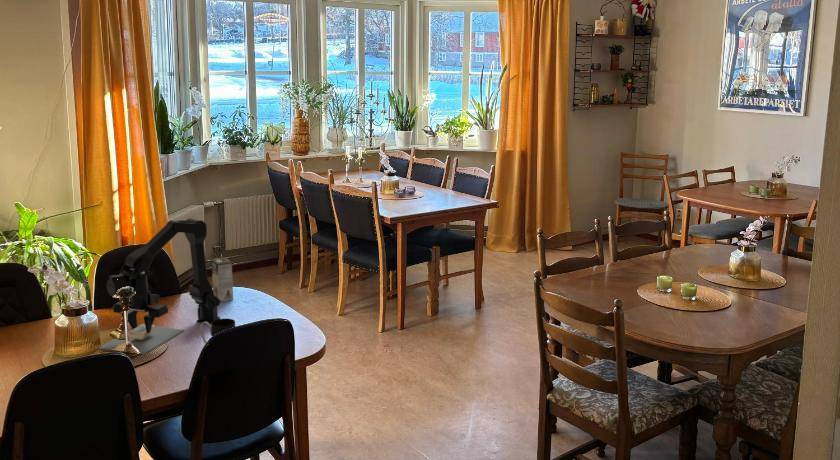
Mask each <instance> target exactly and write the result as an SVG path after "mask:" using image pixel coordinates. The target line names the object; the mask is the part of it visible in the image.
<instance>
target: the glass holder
mask: <svg viewBox="0 0 840 460" xmlns="http://www.w3.org/2000/svg"><path fill="white" fill-rule="evenodd" d="M204 324H206V325H207V326H208V329H209V334H210V336H211V337H212V336H214V335H215V334H217V333H219V332H221V331H223V330H226V329H229V328H232V327H235V328H236V321H235V319H232V318H220V319H217V320H214V321H212V322H211V323H208V322H201V324H200V329H199V330H200V334H201V338H202V340H203V342H204V345H206V343H208V342H207V340H206V337H205V334H204V329H203V325H204Z"/></svg>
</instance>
